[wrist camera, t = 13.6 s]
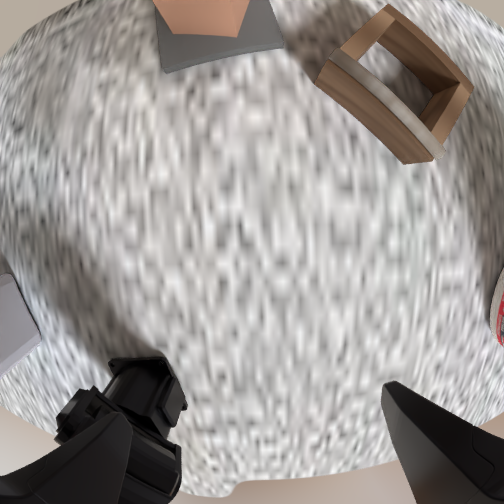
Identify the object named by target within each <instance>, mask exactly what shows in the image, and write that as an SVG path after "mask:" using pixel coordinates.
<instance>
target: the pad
mask: <svg viewBox="0 0 504 504" xmlns="http://www.w3.org/2000/svg"><path fill="white" fill-rule="evenodd" d="M155 12H156V22H157V32H158V41H159V49H160V57H161V65H162V70H163V71H164V72H165V73H166V74H168V73H171V72H174V71H177V70H180V69H183V68H187V67H190V66H194V65H197V64H201V63H205V62H209V61H213V60H217V59H221V58H226V57H230V56H235V55H240V54H246V53H251V52H257V51H264V50H271V49H279V48H283V45H284V40H283V37H282V34H281V31H280V29H279V26H278V23H277V20H276V17H275V15H274V12H273V9H272V7H271V4H270V2H269V0H250V1H249V4H248V7H247V9H246V12H245V15H244V18H243V21H242V24H241V27H240V30H239V33H238V36H237V37H228V36H216V35H199V34H173V33H172V31H171V30H170V28H169V26H168V25H167V23H166V22H165V20H164V18H163V17H162V15H161V13H160V12H159V10H158V9H157V7H156V6H155Z"/></svg>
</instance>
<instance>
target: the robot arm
mask: <svg viewBox="0 0 504 504" xmlns="http://www.w3.org/2000/svg"><path fill="white" fill-rule="evenodd" d="M160 361H162V362H163V363H161V362H160ZM108 365H109V367H110V369H111V371H112V373H113V375H114V377H113V378H112V380H111V381H110V382H109V384H108V385H107V387H106V388H105V390H104V391H103V392H102V393H101V392H100V391H98V390H99V389H98V388H96V387H95V386H94V385H93V387H92V388H91V389H90V390H88V389H87V390H83V389H79V390H78V391H77V392H76V394H75V395H74V396H73V397H72V399H71V400H70V401H69V402H68V403H67V405H66V406H65V407H64V408H63V409H62V410H61V412H60V413H59V414H58V415H57V417H56V421H57V426H58V429H57V430H56V432H57V433H58V434H57V435H56V437H55V438H54V440H55V441H56V442H57V443H58V444H60V445H61V446H59V447H58V448H57V449H55V450H53V451H52V452H50V453H48V454H47V455H45V456H43V457H42V458H40V459H38V460H37V461H35V462H33V463H31V464H29V465H27V466H25V467H23V468H21V469H18V470H16V471H14V472H12V473H9V474H7V475H4V476H0V504H168V503H170V501H171V500H173V498H174V497H175V496H176V494H177V492H178V491H179V488H180V485H181V480H182V469H181V447H180V446H179V445H177V444H173V443H172V442H170V441H168V440H167V437H168V434H169V432H170V429H171V427H172V428H174V427H175V426H176V424H177V421H178V418H179V415H180V412H181V411H184V410H187V407H188V404H187V402H186V400H185V395H184V393H183V391H182V389H181V387H180V384H179V382H178V380H177V378H176V377H175V376H174V374H173V372H172V370H171V367H170V365H169V363H168V360H167V359H166V358H164V357H147V358H124V359H111V360H110V361H109V362H108ZM381 406H382V410H383V413H384V416H385V419H386V423H387V426H388V430H389V433H390V437H391V440H392V443H393V446H394V449H395V451H396V453H397V456H398V458H399V460H400V463H401V465H402V468H403V470H404V472H405V475H406V477H407V480H408V482H409V485H410V487H411V490H412V492H413V495H414V497H415V500H416V503H417V504H504V439H502V438H500V437H497V436H494V435H492V434H490V433H488V432H486V431H484V430H482V429H480V428H478V427H476V426H473V425H472V424H471V423H469V422H467V421H465V420H463V419H461V418H460V417H458V416H456V415H454V414H452V413H451V412H449V411H447V410H445V409H444V408H442V407H440V406H438V405H436V404H435V403H433V402H431V401H430V400H428V399H426V398H424V397H423V396H421V395H419V394H417V393H416V392H414V391H412V390H411V389H409V388H407V387H406V386H404V385H402V384H401V383H399V382H397V381H391V382H388V383H385V384H384V385H383V387H382V396H381Z"/></svg>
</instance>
